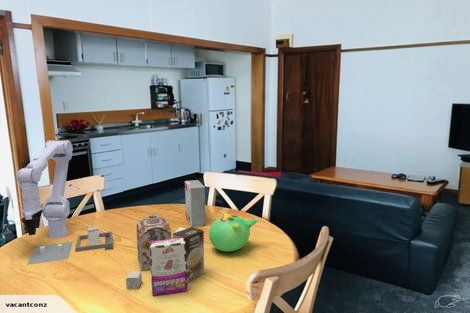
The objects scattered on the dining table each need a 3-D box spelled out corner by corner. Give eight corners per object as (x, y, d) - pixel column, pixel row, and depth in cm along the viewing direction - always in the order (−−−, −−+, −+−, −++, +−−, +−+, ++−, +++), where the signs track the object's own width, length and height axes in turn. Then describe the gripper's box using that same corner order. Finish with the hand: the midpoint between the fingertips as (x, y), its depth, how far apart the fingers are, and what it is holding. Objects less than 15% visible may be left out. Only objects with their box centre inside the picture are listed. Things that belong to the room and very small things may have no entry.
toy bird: (225, 238, 155) (225, 206, 153) (259, 245, 146) (259, 212, 144) (201, 252, 140) (200, 217, 137) (237, 262, 131) (237, 225, 129)
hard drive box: (185, 217, 183) (184, 180, 180) (199, 216, 185) (199, 179, 182) (190, 227, 168) (189, 187, 165) (206, 226, 170) (205, 186, 167)
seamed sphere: (186, 248, 144) (186, 231, 142) (170, 246, 146) (170, 229, 145) (196, 239, 153) (196, 223, 152) (181, 237, 155) (181, 222, 154)
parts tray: (78, 241, 152) (78, 235, 152) (112, 237, 157) (112, 231, 156) (75, 254, 139) (75, 248, 138) (112, 249, 144) (112, 243, 143)
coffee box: (185, 284, 116) (184, 238, 113) (173, 278, 120) (171, 233, 117) (204, 273, 123) (204, 230, 120) (192, 268, 127) (191, 226, 124)
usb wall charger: (141, 282, 117) (141, 271, 116) (136, 293, 110) (136, 281, 110) (130, 282, 117) (129, 271, 116) (124, 293, 110) (123, 281, 109)
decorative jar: (137, 258, 135) (135, 213, 133) (167, 253, 139) (165, 210, 137) (140, 271, 124) (138, 223, 121) (173, 266, 128) (171, 219, 125)
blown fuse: (87, 244, 147) (86, 228, 146) (98, 242, 150) (96, 226, 149) (89, 246, 145) (88, 230, 144) (99, 244, 147) (98, 228, 146)
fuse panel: (36, 248, 145) (35, 240, 144) (73, 243, 149) (72, 235, 149) (27, 267, 128) (26, 258, 127) (68, 261, 133) (67, 252, 132)
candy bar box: (185, 283, 116) (184, 236, 113) (187, 291, 111) (186, 242, 109) (151, 288, 113) (149, 240, 110) (151, 296, 108) (149, 246, 106)
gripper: (23, 194, 141) (26, 226, 143) (14, 204, 128) (18, 239, 130) (43, 193, 144) (46, 224, 146) (36, 202, 130) (39, 236, 132)
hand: (34, 231), depth 138 cm, fingers open, 7 cm apart
